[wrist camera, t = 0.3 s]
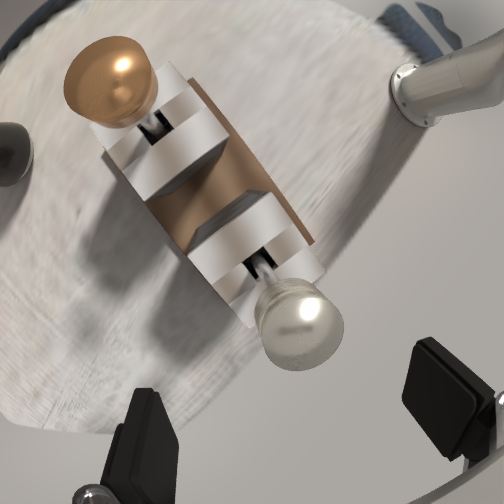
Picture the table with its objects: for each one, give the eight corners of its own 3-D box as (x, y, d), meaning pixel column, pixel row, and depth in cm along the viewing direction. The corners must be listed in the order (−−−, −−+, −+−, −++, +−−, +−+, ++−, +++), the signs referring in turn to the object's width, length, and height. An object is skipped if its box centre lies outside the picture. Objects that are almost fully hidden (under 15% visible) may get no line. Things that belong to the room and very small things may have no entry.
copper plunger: (175, 97, 28) (133, -10, 8) (212, 144, 30) (216, 79, 10) (124, 136, 28) (19, 83, 9) (160, 184, 30) (81, 186, 10)
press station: (193, 80, 37) (185, 21, 20) (311, 240, 45) (368, 272, 28) (106, 147, 37) (47, 129, 20) (228, 302, 45) (239, 368, 28)
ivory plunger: (256, 203, 32) (328, 233, 12) (291, 252, 34) (388, 336, 14) (205, 242, 32) (198, 329, 13) (243, 289, 34) (284, 412, 14)
